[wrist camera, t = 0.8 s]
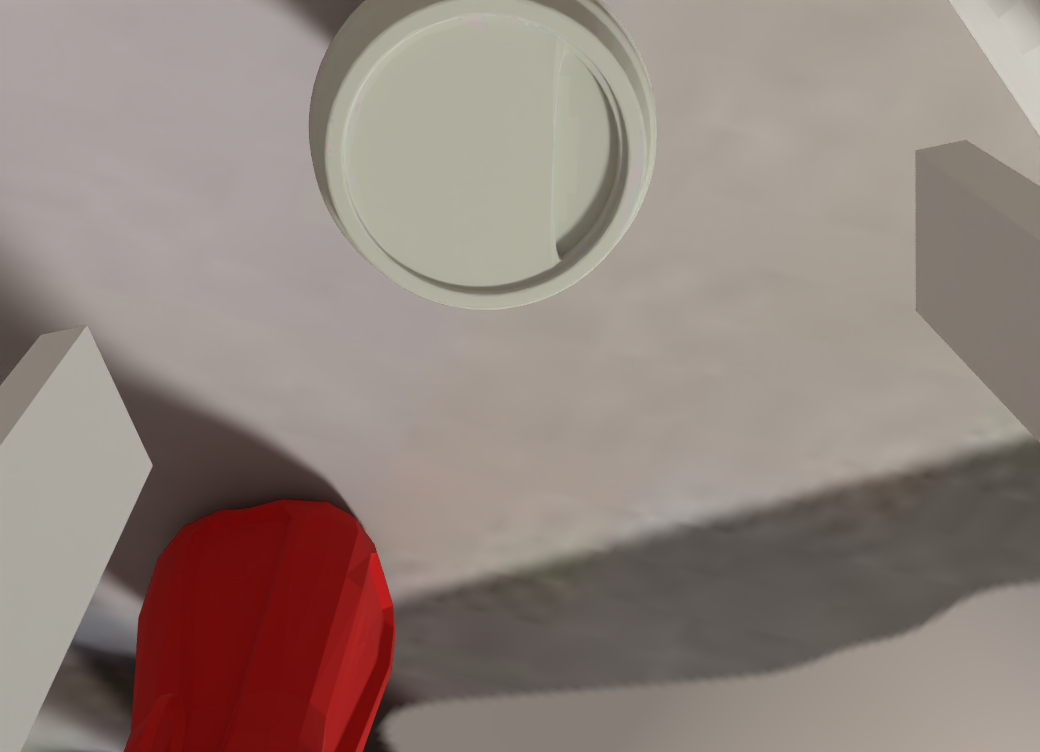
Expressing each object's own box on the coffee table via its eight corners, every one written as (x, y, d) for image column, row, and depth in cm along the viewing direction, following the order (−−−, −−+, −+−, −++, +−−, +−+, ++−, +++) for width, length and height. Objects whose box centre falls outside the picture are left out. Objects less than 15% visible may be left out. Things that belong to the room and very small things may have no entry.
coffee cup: (514, 222, 36) (540, 386, 26) (301, 97, 34) (234, 223, 23) (653, 13, 33) (746, 104, 23) (429, -143, 30) (417, -122, 20)
